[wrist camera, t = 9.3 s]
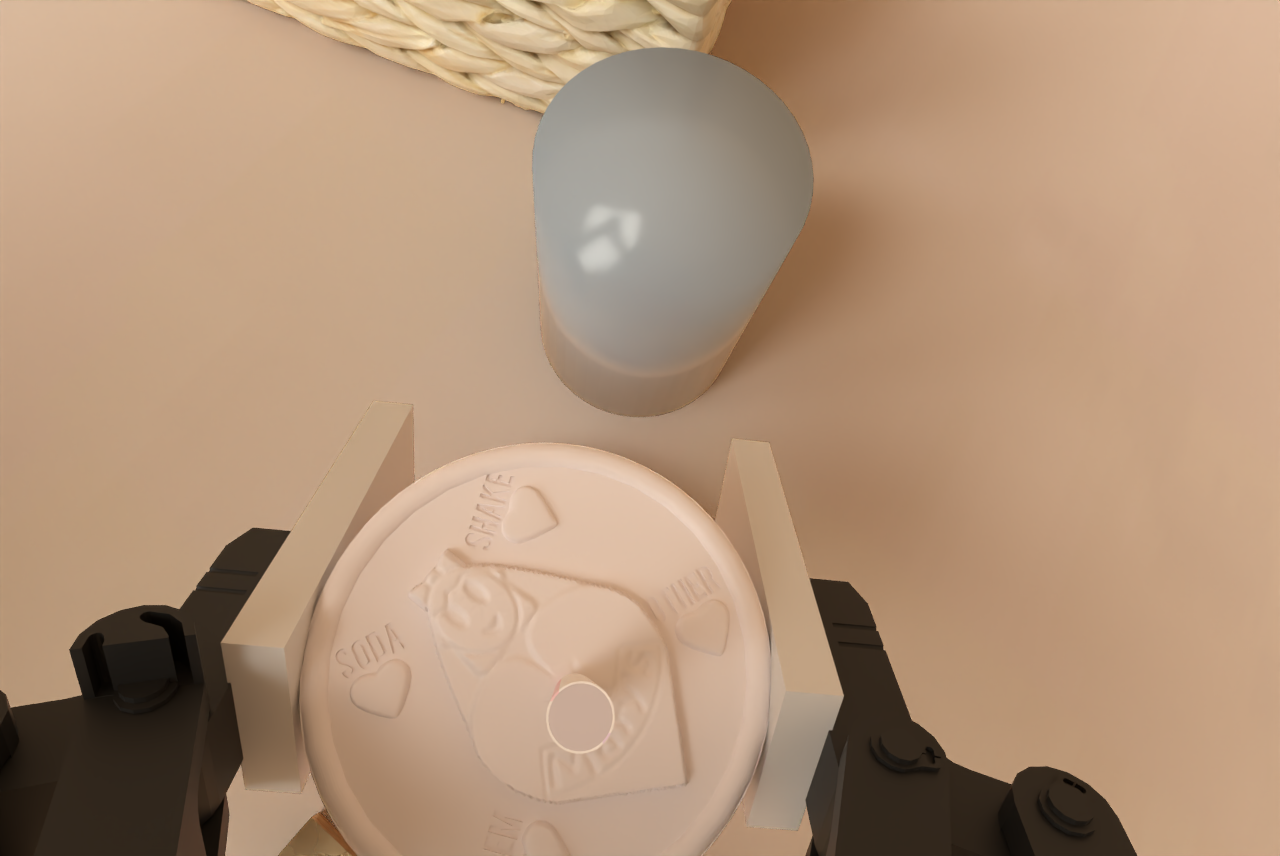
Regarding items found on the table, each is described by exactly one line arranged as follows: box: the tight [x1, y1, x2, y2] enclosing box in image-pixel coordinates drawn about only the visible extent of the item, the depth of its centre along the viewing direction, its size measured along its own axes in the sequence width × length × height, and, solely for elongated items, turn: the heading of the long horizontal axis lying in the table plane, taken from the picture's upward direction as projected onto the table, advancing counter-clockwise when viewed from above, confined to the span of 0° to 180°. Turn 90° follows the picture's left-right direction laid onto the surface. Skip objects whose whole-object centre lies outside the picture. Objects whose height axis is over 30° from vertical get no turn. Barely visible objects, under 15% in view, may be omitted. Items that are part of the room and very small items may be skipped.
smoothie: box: [299, 442, 771, 856], centre depth 13 cm, size 6×6×14 cm
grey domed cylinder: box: [532, 47, 814, 417], centre depth 25 cm, size 7×7×10 cm
